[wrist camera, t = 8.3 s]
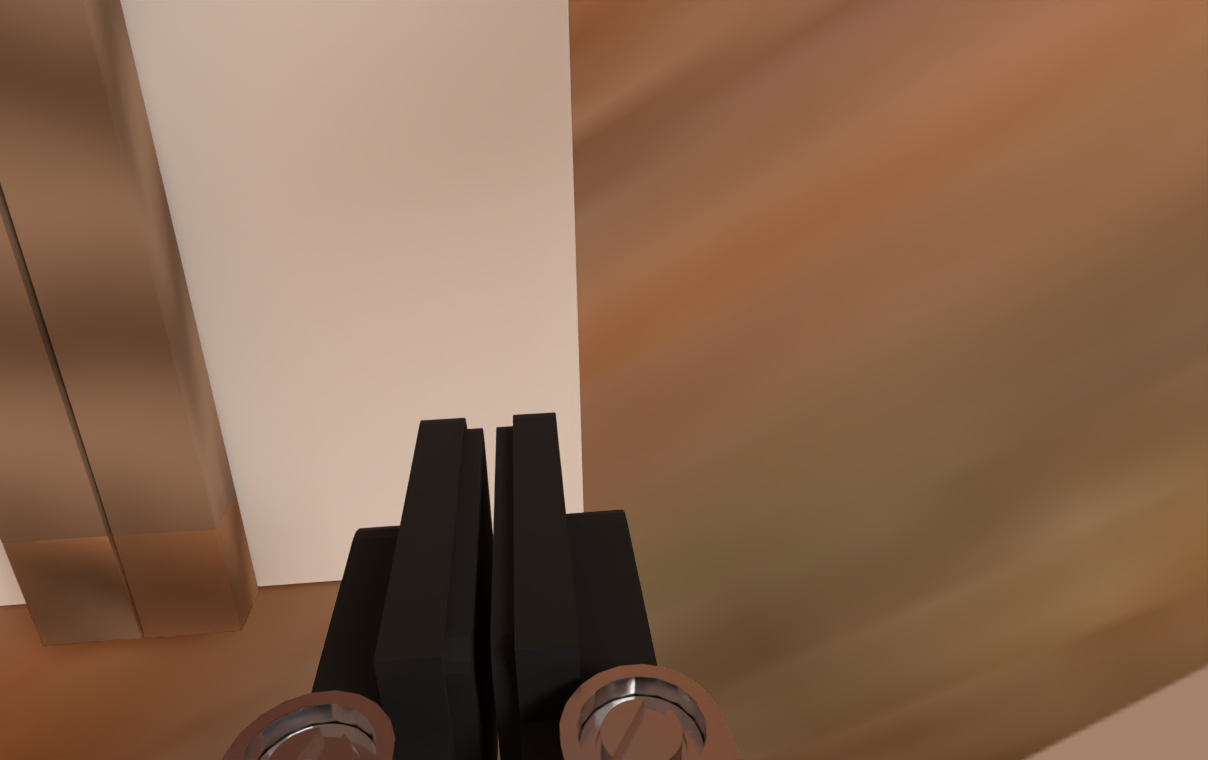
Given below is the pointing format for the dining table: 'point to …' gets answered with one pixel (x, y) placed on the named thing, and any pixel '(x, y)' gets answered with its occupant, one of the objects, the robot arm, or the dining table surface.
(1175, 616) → the dining table surface
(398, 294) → the board
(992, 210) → the dining table surface
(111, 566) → the tongs base
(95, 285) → the tongs arm
